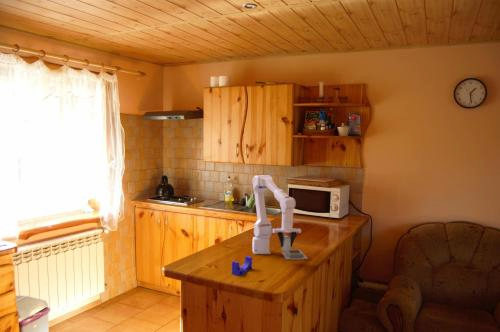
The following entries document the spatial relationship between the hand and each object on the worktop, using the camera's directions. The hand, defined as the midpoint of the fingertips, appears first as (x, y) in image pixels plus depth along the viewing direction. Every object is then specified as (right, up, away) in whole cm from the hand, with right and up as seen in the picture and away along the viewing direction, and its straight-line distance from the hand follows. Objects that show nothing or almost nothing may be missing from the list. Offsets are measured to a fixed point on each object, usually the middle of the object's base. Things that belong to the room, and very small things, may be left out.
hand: (286, 246), depth 206 cm
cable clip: (-22, -10, -15) cm, 28 cm away
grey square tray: (+6, -8, +12) cm, 16 cm away
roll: (0, -2, 0) cm, 2 cm away
